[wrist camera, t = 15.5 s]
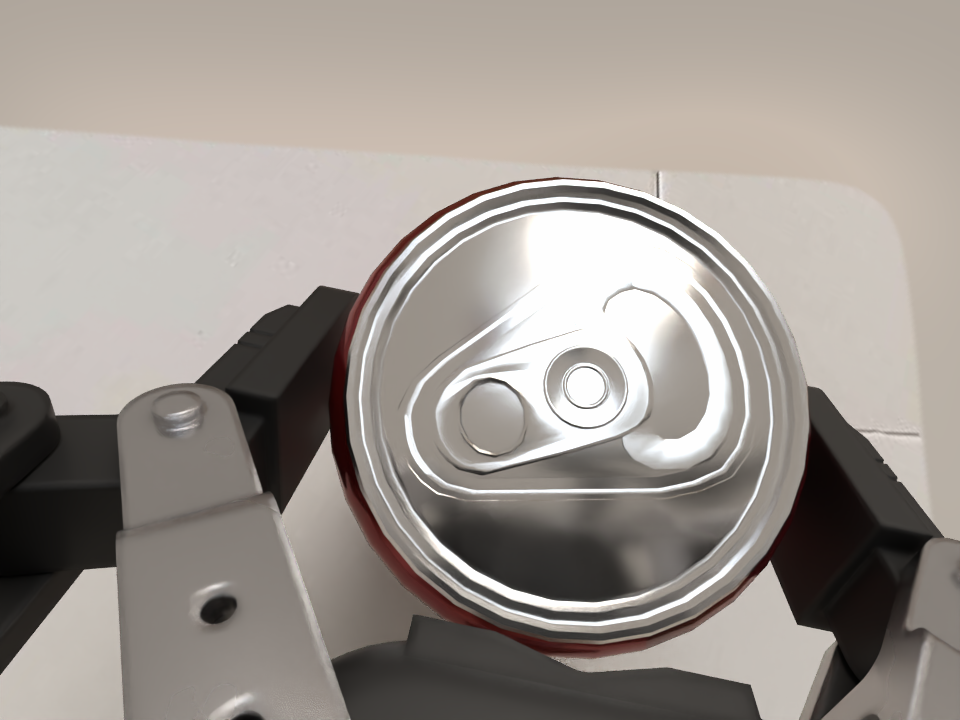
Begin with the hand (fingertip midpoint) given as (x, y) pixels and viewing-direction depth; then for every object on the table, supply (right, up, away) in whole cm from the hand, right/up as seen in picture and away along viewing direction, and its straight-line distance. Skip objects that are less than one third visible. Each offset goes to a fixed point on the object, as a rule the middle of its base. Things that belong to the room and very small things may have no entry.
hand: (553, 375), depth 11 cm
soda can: (-1, -3, +9) cm, 9 cm away
